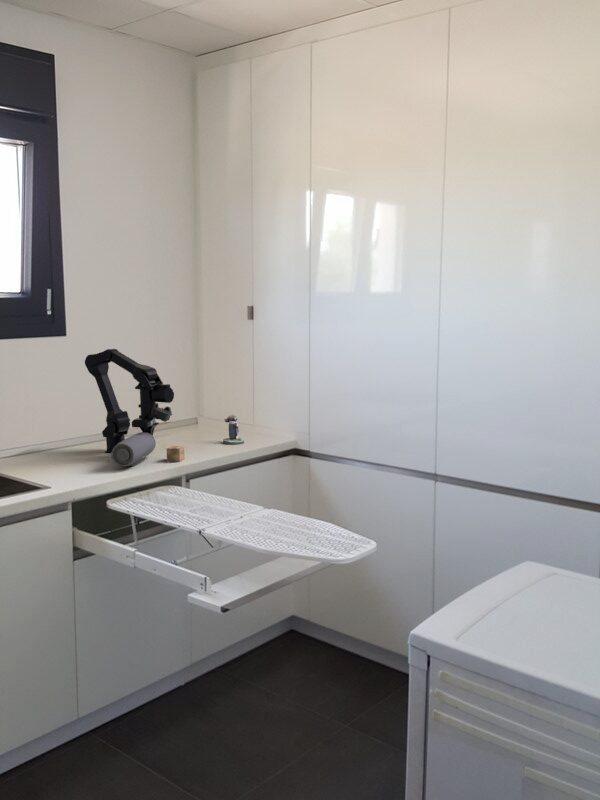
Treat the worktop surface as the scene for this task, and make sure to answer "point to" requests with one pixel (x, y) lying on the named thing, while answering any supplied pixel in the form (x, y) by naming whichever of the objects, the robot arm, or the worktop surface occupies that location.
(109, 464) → the worktop surface
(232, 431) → the figurine
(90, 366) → the robot arm
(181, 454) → the letter block
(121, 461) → the bluetooth speaker
